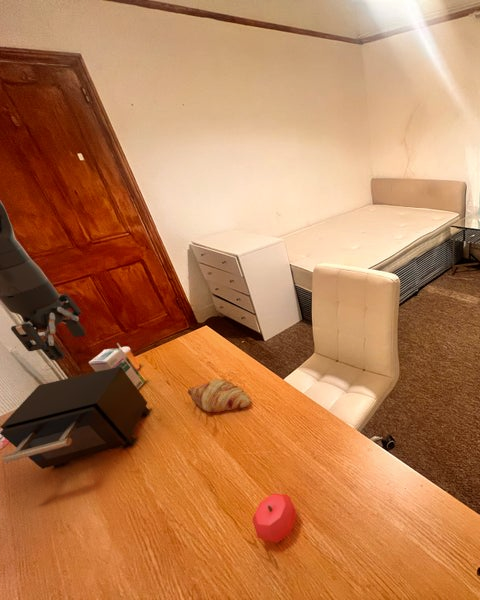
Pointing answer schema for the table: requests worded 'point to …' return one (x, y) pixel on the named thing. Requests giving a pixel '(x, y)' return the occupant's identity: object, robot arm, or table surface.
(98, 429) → the oven door
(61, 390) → the oven
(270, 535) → the apple
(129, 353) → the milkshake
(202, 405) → the croissant
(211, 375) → the table surface
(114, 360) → the syrup box
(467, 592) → the table surface
